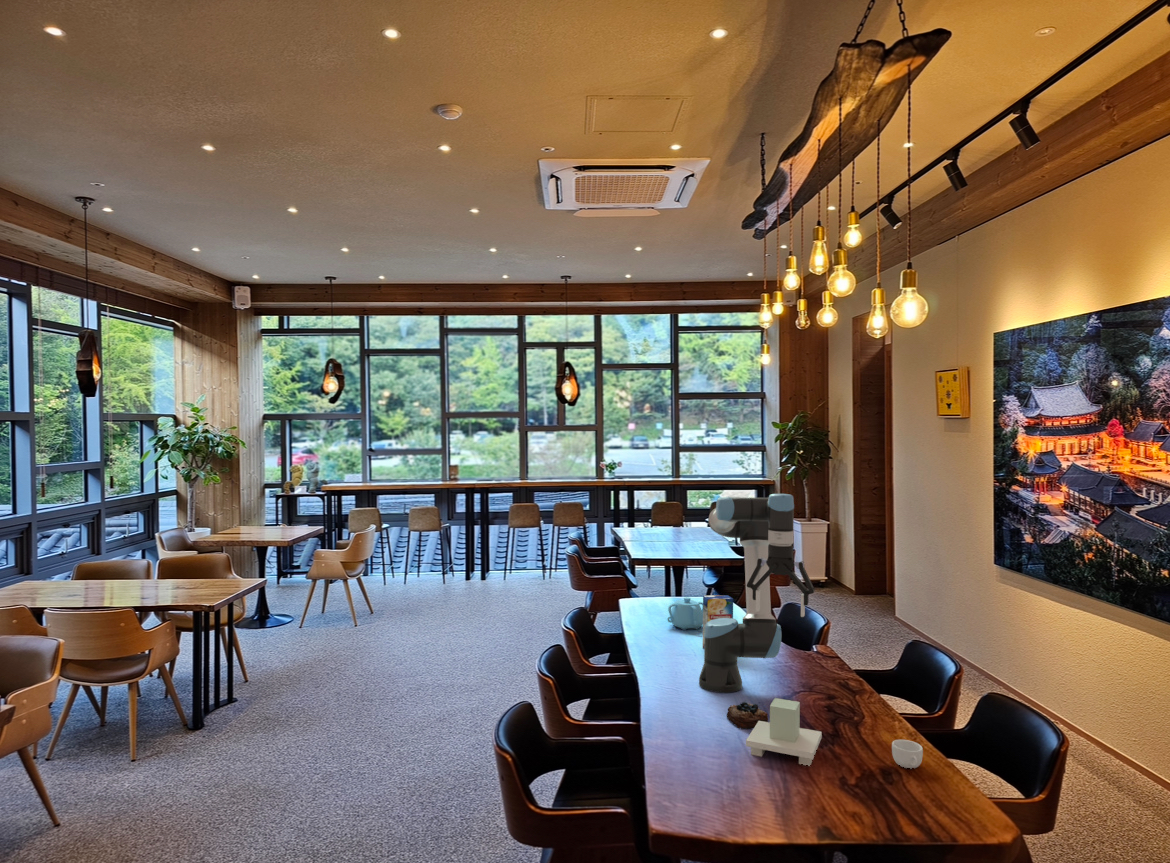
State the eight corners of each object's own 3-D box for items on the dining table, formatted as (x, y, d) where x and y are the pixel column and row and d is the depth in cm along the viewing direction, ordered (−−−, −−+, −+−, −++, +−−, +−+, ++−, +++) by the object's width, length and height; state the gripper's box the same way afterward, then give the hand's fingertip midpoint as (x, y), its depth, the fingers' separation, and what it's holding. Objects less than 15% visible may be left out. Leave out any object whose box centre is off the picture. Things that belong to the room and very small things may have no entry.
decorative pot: (662, 627, 342) (663, 598, 342) (678, 620, 356) (679, 592, 356) (694, 633, 333) (695, 603, 333) (710, 626, 346) (710, 597, 346)
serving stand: (758, 735, 219) (758, 720, 219) (821, 747, 211) (821, 731, 211) (745, 756, 205) (746, 740, 205) (812, 770, 197) (813, 753, 197)
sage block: (774, 729, 213) (774, 698, 213) (799, 733, 210) (799, 702, 210) (769, 738, 207) (769, 705, 207) (795, 742, 204) (795, 710, 204)
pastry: (740, 731, 223) (740, 712, 223) (722, 716, 234) (722, 698, 235) (772, 728, 226) (773, 708, 226) (753, 713, 238) (753, 695, 238)
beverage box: (702, 648, 310) (702, 595, 310) (727, 647, 311) (728, 595, 312) (707, 652, 303) (707, 599, 303) (732, 652, 305) (733, 598, 305)
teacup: (887, 758, 205) (887, 739, 205) (915, 759, 204) (915, 739, 205) (901, 775, 195) (901, 754, 195) (931, 775, 194) (931, 755, 195)
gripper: (737, 542, 229) (736, 611, 229) (821, 549, 218) (820, 620, 218) (743, 539, 236) (742, 606, 235) (824, 545, 225) (823, 615, 225)
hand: (780, 613), depth 227 cm, fingers open, 13 cm apart
